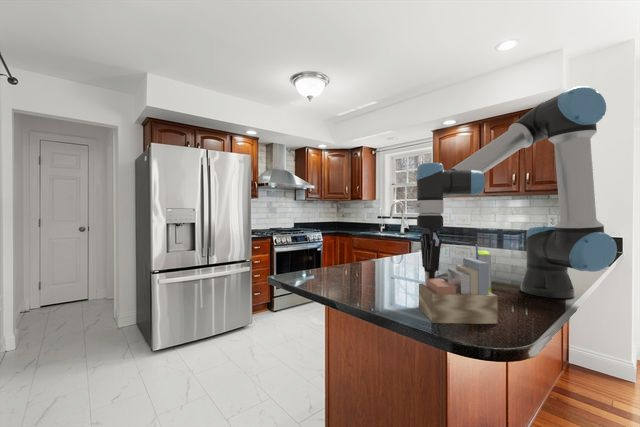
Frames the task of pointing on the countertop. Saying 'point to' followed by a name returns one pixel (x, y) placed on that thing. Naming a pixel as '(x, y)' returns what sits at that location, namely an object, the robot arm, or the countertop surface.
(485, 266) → the shelved books
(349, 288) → the countertop surface
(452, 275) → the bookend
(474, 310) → the wooden crate
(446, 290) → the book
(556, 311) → the countertop surface
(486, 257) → the box
